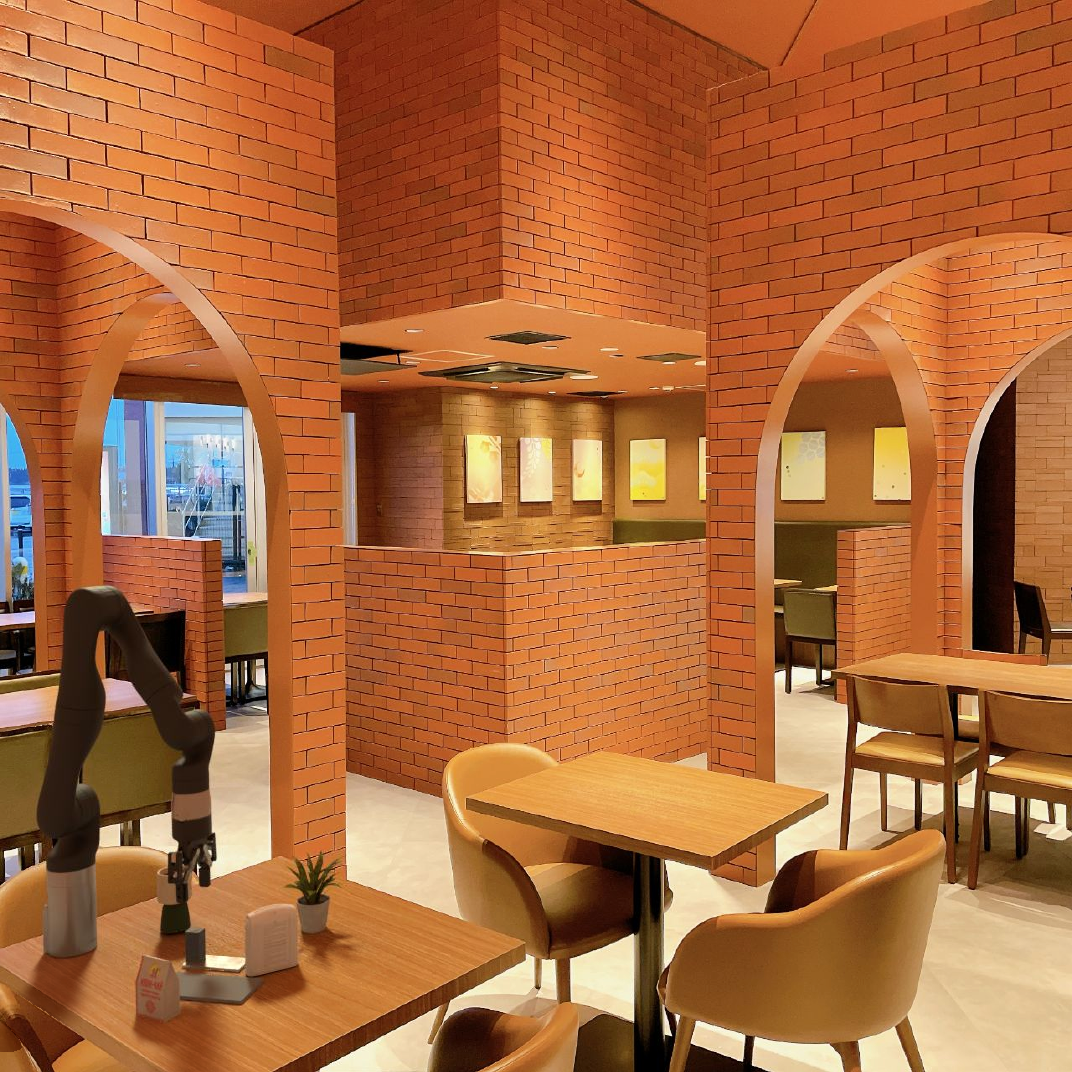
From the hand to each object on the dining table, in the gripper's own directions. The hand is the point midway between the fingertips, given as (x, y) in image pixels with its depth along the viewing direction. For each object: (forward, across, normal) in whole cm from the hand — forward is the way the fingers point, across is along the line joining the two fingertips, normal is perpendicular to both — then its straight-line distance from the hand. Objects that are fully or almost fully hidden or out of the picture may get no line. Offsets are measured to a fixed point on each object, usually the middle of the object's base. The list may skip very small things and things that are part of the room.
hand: (193, 894), depth 200 cm
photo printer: (+14, 0, +16) cm, 22 cm away
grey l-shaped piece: (+14, 0, +4) cm, 15 cm away
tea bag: (+14, +20, +4) cm, 25 cm away
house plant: (+14, -19, +17) cm, 29 cm away
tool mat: (+14, +10, +8) cm, 19 cm away
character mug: (+14, -14, -13) cm, 23 cm away
